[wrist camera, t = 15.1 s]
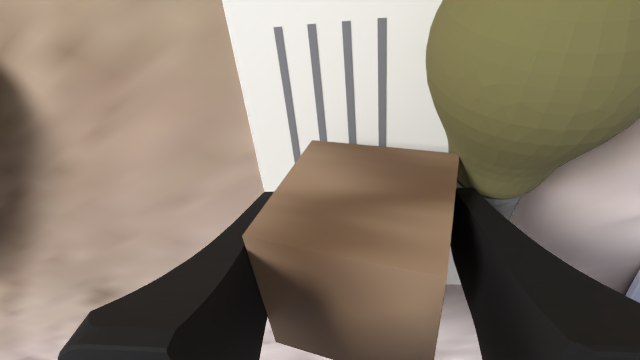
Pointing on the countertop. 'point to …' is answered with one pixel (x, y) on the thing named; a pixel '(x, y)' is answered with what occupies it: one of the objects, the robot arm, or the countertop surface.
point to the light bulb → (531, 86)
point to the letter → (334, 78)
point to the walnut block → (357, 251)
